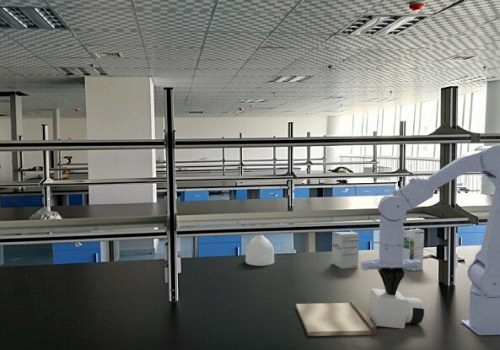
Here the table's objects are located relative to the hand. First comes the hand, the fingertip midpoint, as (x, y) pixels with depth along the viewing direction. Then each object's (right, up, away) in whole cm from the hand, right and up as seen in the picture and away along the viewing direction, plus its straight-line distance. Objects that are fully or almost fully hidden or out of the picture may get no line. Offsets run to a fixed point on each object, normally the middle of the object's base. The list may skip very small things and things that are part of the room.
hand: (390, 297), depth 109 cm
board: (-14, -6, +2) cm, 15 cm away
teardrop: (-31, -3, +58) cm, 66 cm away
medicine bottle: (-5, -2, 0) cm, 5 cm away
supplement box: (0, -3, +52) cm, 52 cm away
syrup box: (+23, -3, +49) cm, 54 cm away
